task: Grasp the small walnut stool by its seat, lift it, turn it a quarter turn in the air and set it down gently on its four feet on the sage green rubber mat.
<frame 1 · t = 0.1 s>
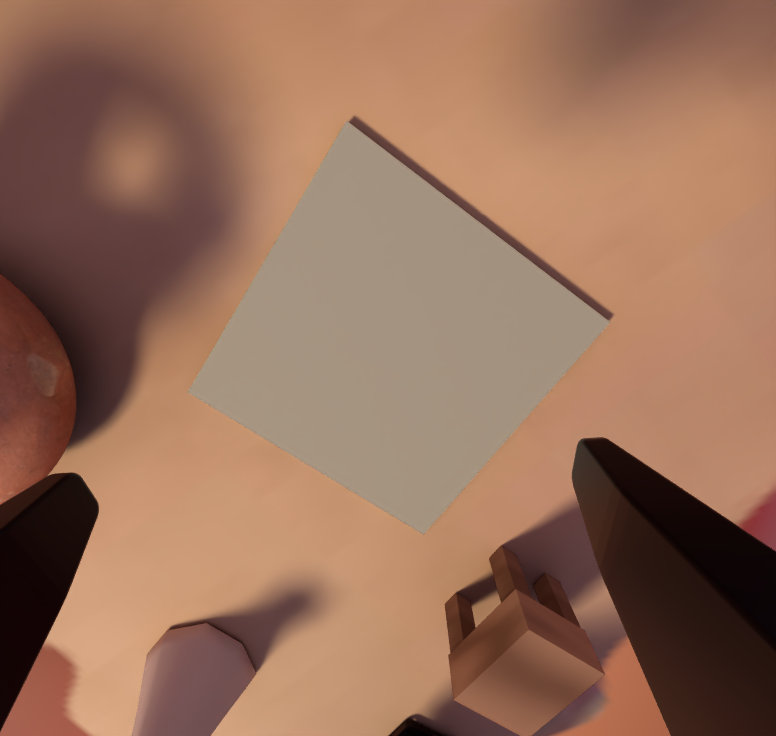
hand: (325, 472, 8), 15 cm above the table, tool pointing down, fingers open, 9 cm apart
sage mat: (390, 356, 23), on the table
flask: (204, 657, 31), on the table
walnut stool: (501, 593, 28), on the table
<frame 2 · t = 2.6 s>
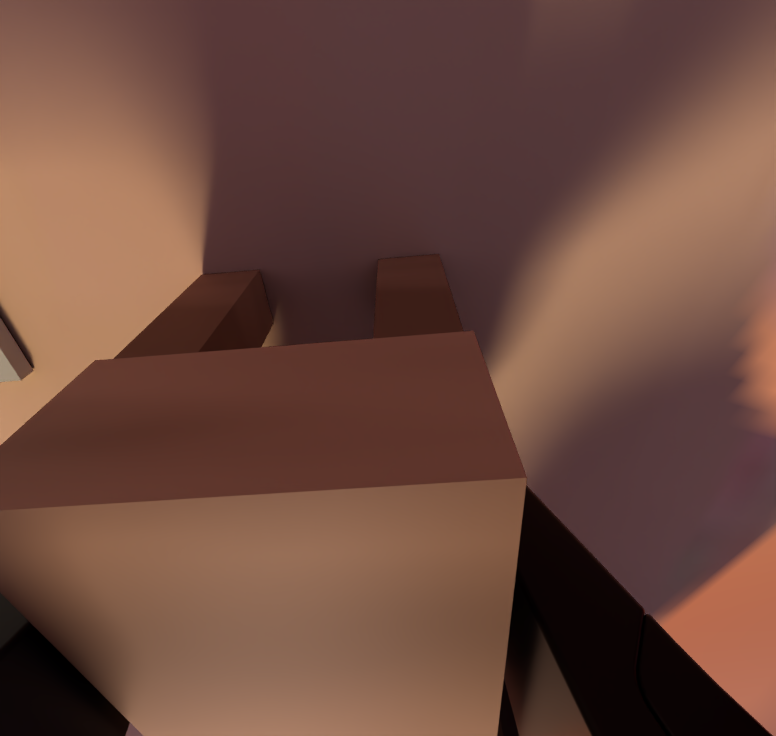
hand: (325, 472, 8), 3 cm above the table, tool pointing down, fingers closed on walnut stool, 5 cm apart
walnut stool: (340, 383, 10), on the table, touching gripper
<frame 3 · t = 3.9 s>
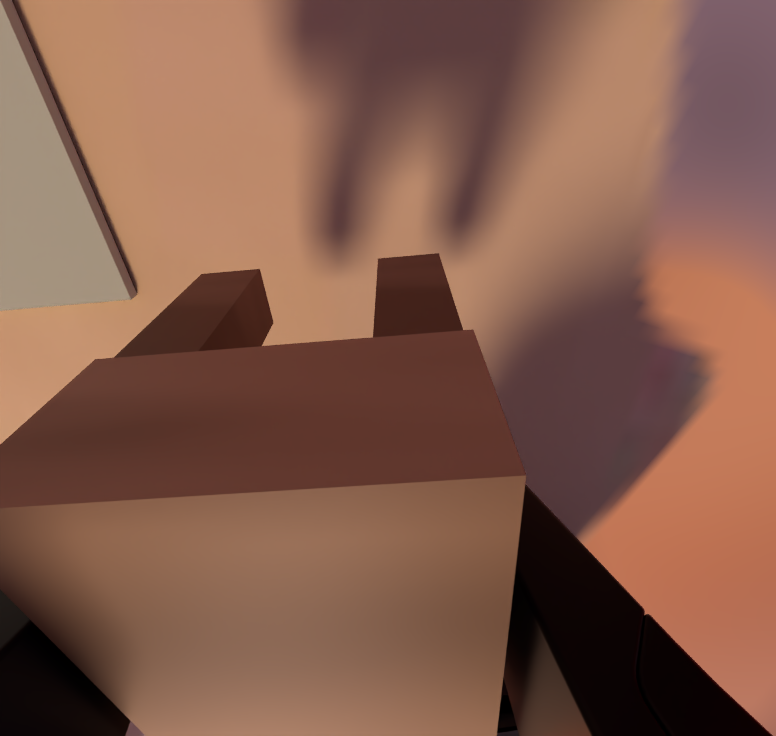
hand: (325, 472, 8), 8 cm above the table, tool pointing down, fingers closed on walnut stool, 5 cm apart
walnut stool: (340, 383, 10), point 5 cm above the table, touching gripper
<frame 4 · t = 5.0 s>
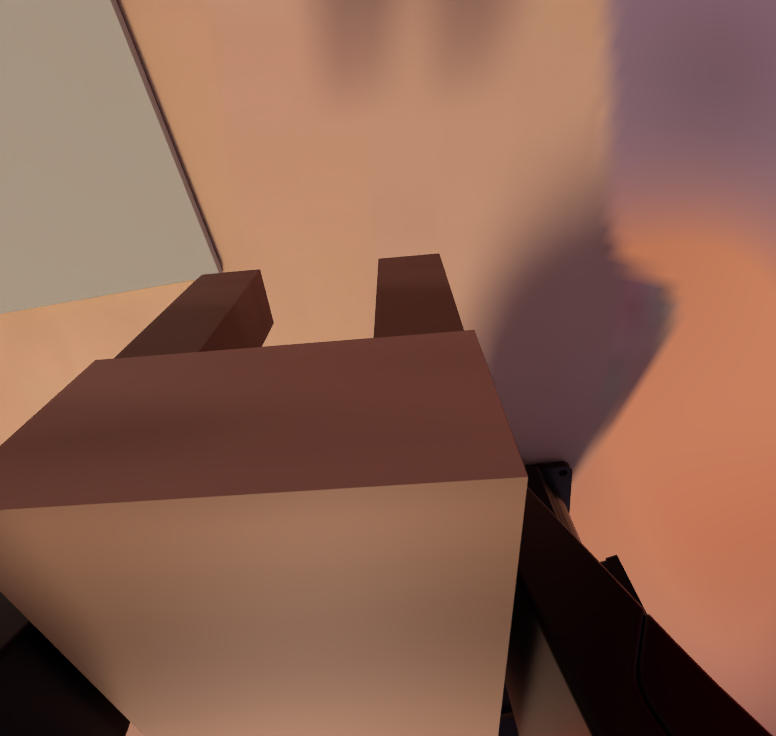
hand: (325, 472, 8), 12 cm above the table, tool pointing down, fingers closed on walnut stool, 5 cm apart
walnut stool: (340, 383, 10), point 10 cm above the table, touching gripper
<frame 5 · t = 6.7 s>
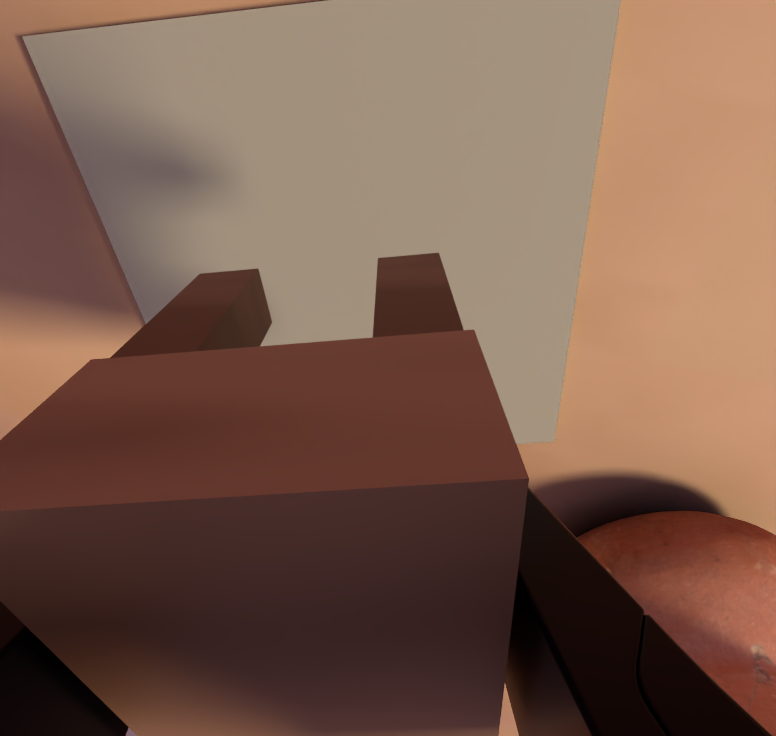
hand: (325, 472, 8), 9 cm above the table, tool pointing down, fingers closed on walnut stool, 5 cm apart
ceramic jug: (632, 567, 25), on the table
sage mat: (354, 285, 16), on the table
walnut stool: (339, 383, 10), point 7 cm above the table, touching gripper
when the fingers open (5 cm above the table, at t = 7.8 s): walnut stool drops 1 cm, resting on sage mat.
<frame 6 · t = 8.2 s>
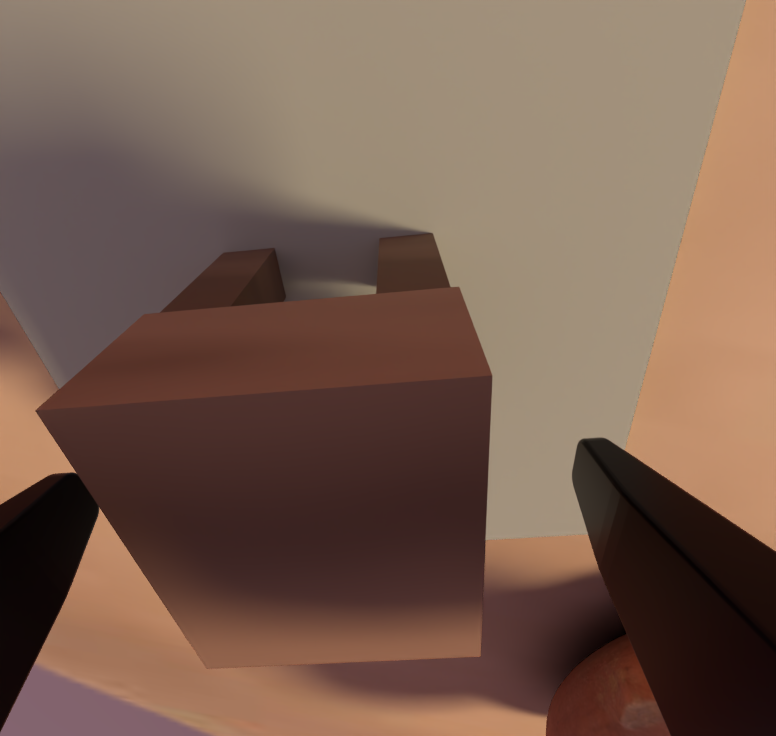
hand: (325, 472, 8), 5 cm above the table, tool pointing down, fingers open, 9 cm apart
ceramic jug: (681, 657, 21), on the table
sage mat: (345, 348, 12), on the table
walnut stool: (345, 353, 11), resting on sage mat
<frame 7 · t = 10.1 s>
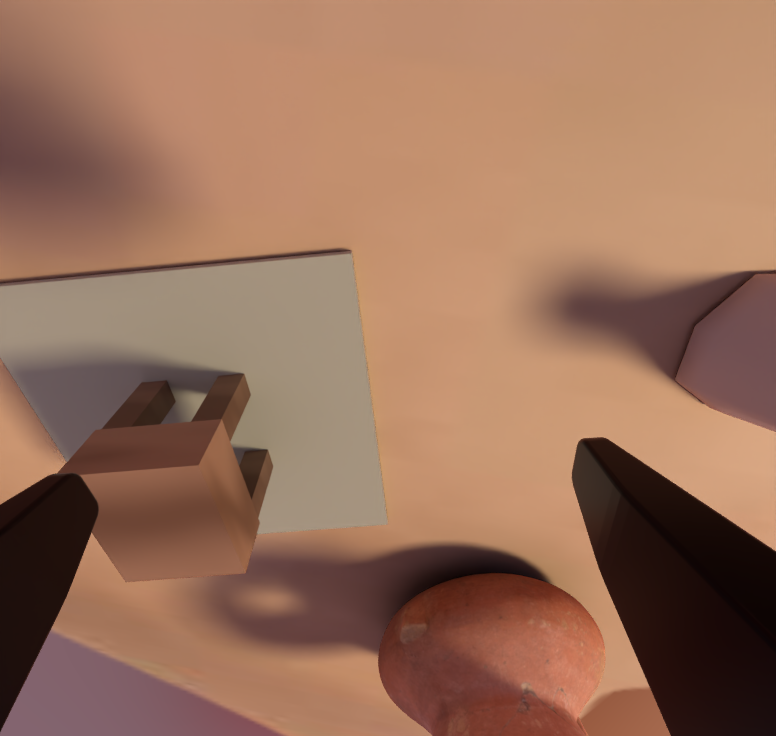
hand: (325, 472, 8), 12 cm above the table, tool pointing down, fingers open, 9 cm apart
ceramic jug: (483, 611, 31), on the table
sage mat: (214, 423, 22), on the table
flask: (754, 341, 20), on the table
walnut stool: (211, 427, 21), resting on sage mat
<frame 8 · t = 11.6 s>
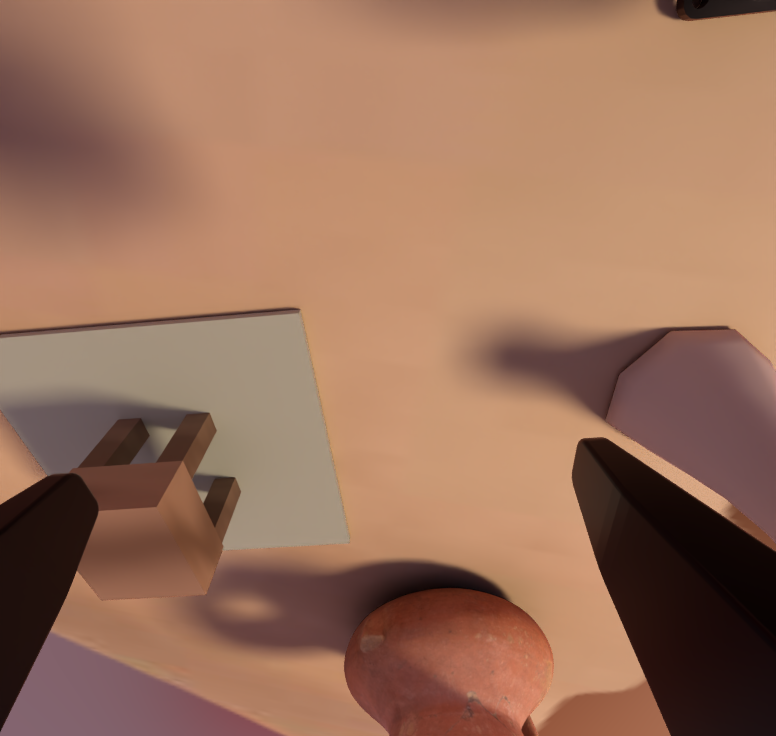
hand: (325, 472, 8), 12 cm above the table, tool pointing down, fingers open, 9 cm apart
ceramic jug: (446, 620, 33), on the table
sage mat: (186, 454, 24), on the table
flask: (678, 386, 22), on the table
walnut stool: (183, 458, 23), resting on sage mat
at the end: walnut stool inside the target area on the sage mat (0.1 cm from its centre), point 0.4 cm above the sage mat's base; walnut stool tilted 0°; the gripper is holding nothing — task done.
